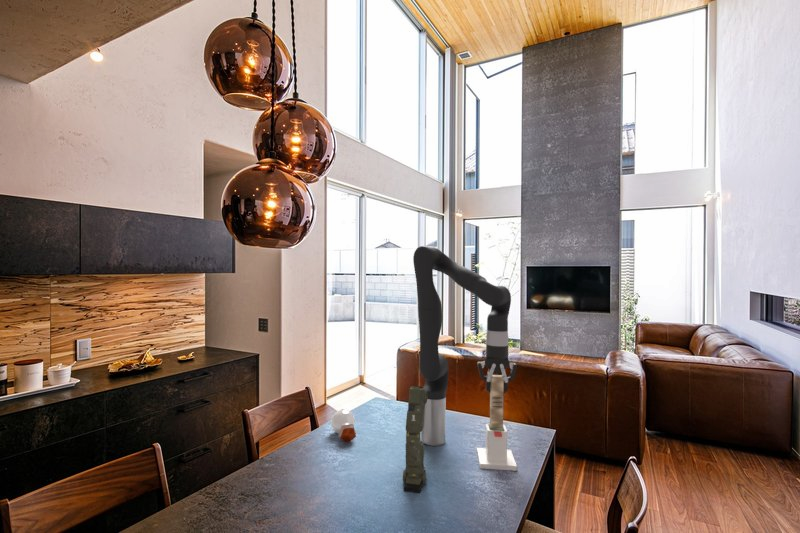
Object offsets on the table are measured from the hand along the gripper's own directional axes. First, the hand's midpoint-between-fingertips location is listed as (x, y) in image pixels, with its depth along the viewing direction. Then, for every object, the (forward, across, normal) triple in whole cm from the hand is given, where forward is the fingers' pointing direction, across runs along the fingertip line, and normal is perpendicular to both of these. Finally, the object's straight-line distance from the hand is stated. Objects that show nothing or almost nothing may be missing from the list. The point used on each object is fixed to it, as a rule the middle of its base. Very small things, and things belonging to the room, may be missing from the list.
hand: (496, 392), depth 137 cm
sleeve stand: (+24, 0, 0) cm, 24 cm away
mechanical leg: (+24, -27, -17) cm, 40 cm away
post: (+16, 0, 0) cm, 16 cm away
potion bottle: (+24, -57, +13) cm, 63 cm away
